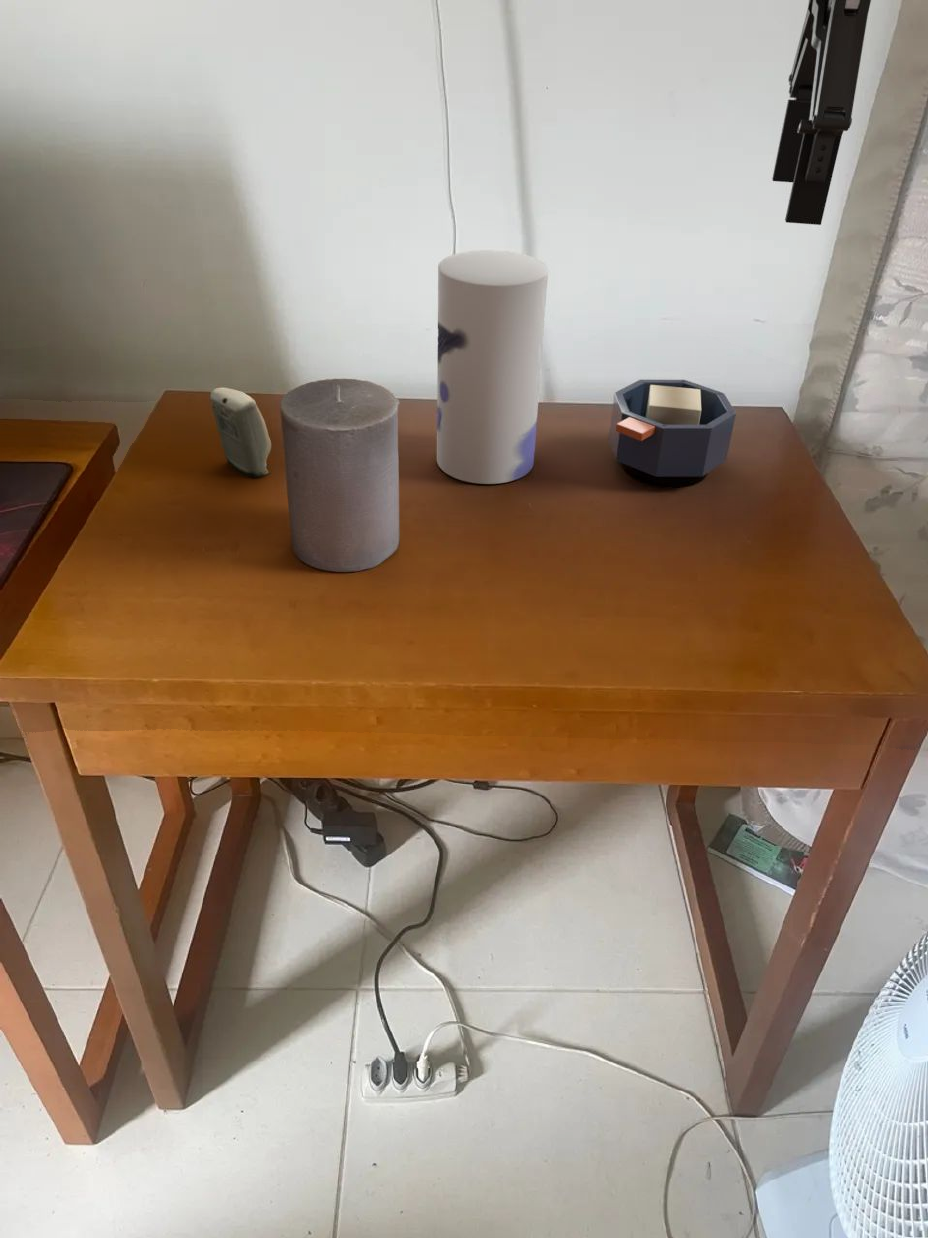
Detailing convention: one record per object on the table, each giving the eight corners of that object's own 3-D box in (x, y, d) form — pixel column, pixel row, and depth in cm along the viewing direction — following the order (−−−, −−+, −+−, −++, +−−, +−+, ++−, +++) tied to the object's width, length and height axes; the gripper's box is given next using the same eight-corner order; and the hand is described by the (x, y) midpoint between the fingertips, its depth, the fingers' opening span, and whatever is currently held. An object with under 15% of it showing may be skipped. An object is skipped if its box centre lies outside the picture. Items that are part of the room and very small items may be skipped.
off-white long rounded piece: (207, 475, 97) (196, 400, 93) (228, 451, 102) (218, 378, 97) (262, 482, 97) (253, 407, 92) (280, 458, 101) (273, 385, 96)
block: (692, 434, 101) (700, 388, 98) (692, 456, 97) (701, 410, 94) (643, 429, 102) (650, 384, 99) (642, 451, 98) (649, 405, 95)
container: (421, 449, 103) (421, 254, 91) (506, 433, 106) (516, 243, 94) (461, 493, 96) (466, 288, 84) (551, 474, 99) (568, 275, 87)
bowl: (650, 415, 106) (657, 370, 103) (742, 449, 101) (753, 402, 97) (576, 457, 98) (581, 409, 95) (671, 497, 93) (680, 447, 89)
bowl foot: (725, 470, 101) (728, 457, 100) (668, 497, 96) (670, 484, 95) (659, 438, 106) (661, 425, 105) (601, 462, 102) (603, 449, 101)
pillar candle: (286, 521, 91) (271, 367, 82) (390, 510, 93) (386, 358, 84) (298, 580, 83) (283, 418, 74) (411, 566, 86) (409, 407, 76)
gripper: (792, -113, 81) (742, 163, 94) (829, -111, 61) (759, 239, 74) (887, -110, 80) (823, 169, 93) (954, -107, 60) (861, 246, 73)
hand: (794, 200), depth 84 cm, fingers open, 13 cm apart
